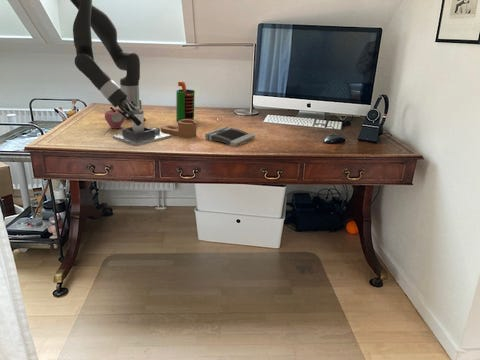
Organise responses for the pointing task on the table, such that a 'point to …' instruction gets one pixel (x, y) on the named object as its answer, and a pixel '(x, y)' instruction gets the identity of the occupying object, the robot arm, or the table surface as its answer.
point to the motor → (184, 103)
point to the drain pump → (140, 116)
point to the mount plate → (141, 136)
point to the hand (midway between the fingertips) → (142, 122)
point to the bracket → (181, 129)
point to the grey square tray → (229, 136)
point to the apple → (114, 118)
